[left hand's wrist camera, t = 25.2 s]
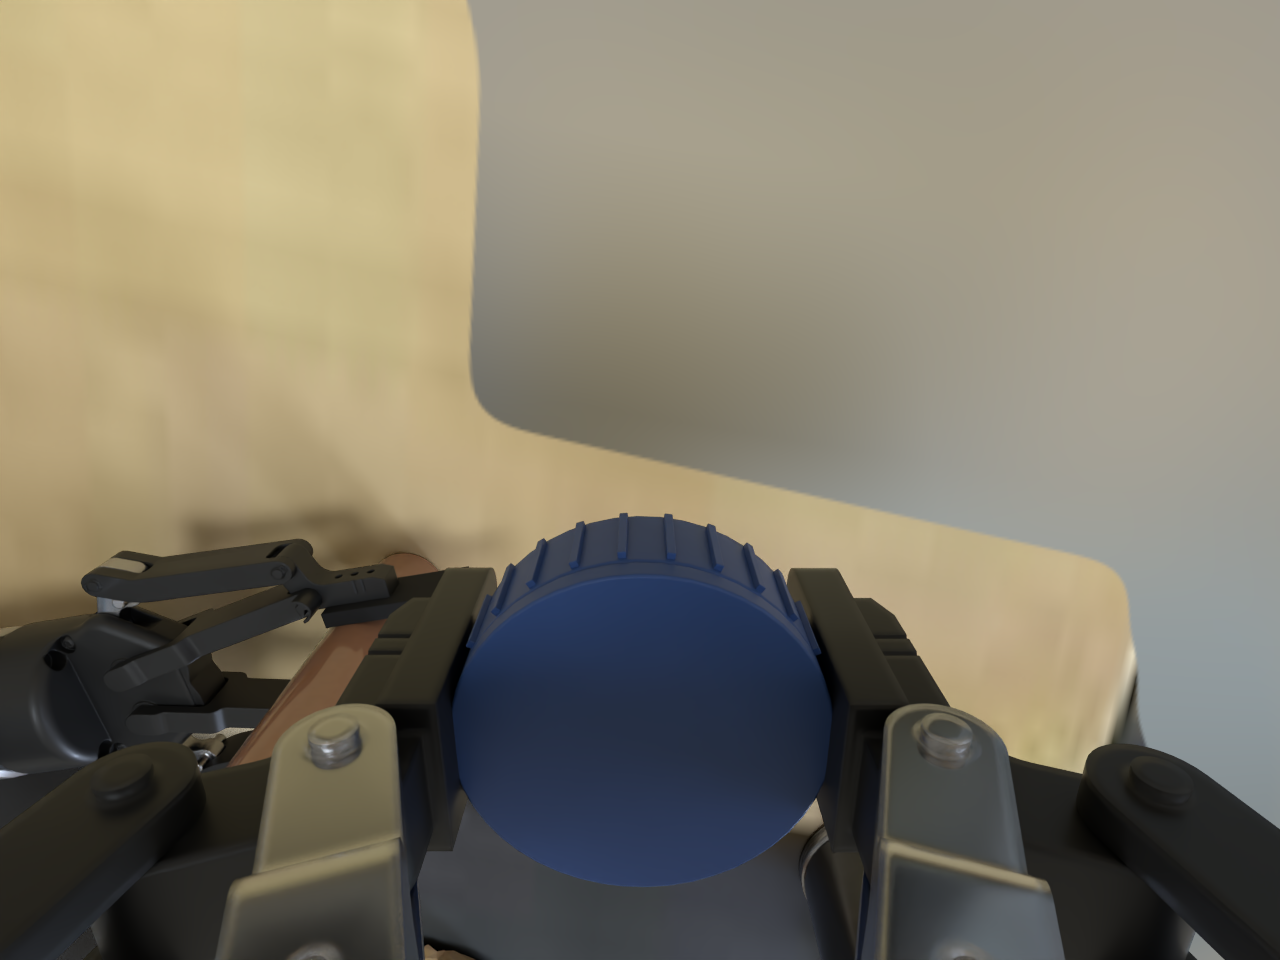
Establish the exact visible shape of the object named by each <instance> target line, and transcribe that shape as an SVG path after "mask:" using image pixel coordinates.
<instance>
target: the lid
mask: <svg viewBox="0 0 1280 960" xmlns="http://www.w3.org/2000/svg"><path fill="white" fill-rule="evenodd" d="M466 647H468V648H470V651H469V654H468V656H467V659H466V662H465V664H464V667H463V670H462V672H461V675H460V678H459V681H458V683H457V686H456V690H455V693H454V697H453V701H452V716H453V725H454V734H455V743H456V752H457V761H458V770H459V778H460V783H461V785H462V788H463V790H464V791H465V793H466V795H467V797H468V798H469V800H470V802H471V803H472V805H473V807H474V808H475V809H476V811H477V812H478V813H479V814H480V816H481V817H482V818H483V820H484V821H485V822H486V823H487V824H488V825H489V826H490V827H491V828H492V829H493V830H494V831H495V832H496V833H497V834H498V835H499V836H500V837H501V838H502V839H504V840H505V841H506V842H508V843H509V844H510V845H511V846H513V847H514V848H515V849H517V850H518V851H520V852H521V853H523V854H525V855H526V856H528V857H530V858H531V859H533V860H535V861H536V862H538V863H540V864H543V865H545V866H547V867H549V868H551V869H554V870H556V871H558V872H561V873H564V874H567V875H570V876H573V877H576V878H579V879H584V880H588V881H592V882H597V883H601V884H609V885H617V886H630V887H654V886H669V885H675V884H681V883H687V882H693V881H696V880H700V879H704V878H707V877H711V876H715V875H717V874H720V873H722V872H725V871H728V870H730V869H733V868H735V867H737V866H739V865H741V864H743V863H745V862H747V861H749V860H751V859H753V858H755V857H756V856H758V855H759V854H761V853H762V852H764V851H765V850H767V849H768V848H770V847H771V846H773V845H774V844H775V843H776V842H778V841H779V840H780V839H781V838H782V837H784V836H785V835H786V834H787V833H788V832H789V831H790V830H791V829H792V828H793V827H794V826H795V825H796V824H797V823H798V822H799V820H800V819H801V818H802V817H803V816H804V815H805V813H806V812H807V810H808V809H809V807H810V806H811V805H812V803H813V802H814V800H815V799H816V797H817V795H818V793H819V791H820V789H821V787H822V785H823V783H824V781H825V774H826V767H827V758H828V749H829V740H830V731H831V723H832V701H831V697H830V694H829V691H828V688H827V685H826V682H825V679H824V676H823V674H822V671H821V668H820V666H819V663H818V660H817V658H816V655H819V654H821V651H820V648H819V646H818V643H817V641H816V638H815V636H814V633H813V631H812V628H811V626H810V623H809V621H808V618H807V616H806V613H805V610H804V608H803V605H802V603H801V601H797V602H794V600H793V599H792V597H791V595H790V593H789V590H788V588H787V585H786V582H785V580H784V577H783V574H782V573H781V572H780V570H779V569H777V570H775V571H774V572H773V571H772V570H771V569H770V567H769V566H768V565H767V564H766V563H765V562H764V561H763V560H761V559H760V558H759V557H758V556H756V555H755V553H754V550H753V547H752V546H751V545H750V544H748V543H746V544H745V545H744V546H743V545H741V544H739V543H738V542H736V541H734V540H733V539H731V538H729V537H727V536H725V535H723V534H721V533H718V532H716V528H715V526H713V525H711V524H708V525H707V527H704V526H700V525H697V524H693V523H690V522H686V521H682V520H676V519H673V516H672V515H671V514H665V515H664V518H663V517H644V516H634V517H628V513H620V516H619V518H613V519H608V520H603V521H598V522H593V523H589V524H587V525H585V523H584V521H582V522H579V523H576V528H575V529H572V530H569V531H567V532H565V533H563V534H561V535H559V536H557V537H555V538H553V539H551V540H549V541H547V542H546V540H545V539H544V538H543V539H542V540H540V541H538V543H537V546H536V549H535V550H533V551H532V552H530V553H529V554H528V555H527V556H526V557H525V558H524V559H523V560H521V561H520V562H519V563H518V564H517V565H516V566H514V565H513V564H510V565H509V566H508V567H507V568H506V571H505V573H504V576H503V579H502V582H501V583H500V585H499V586H498V588H497V589H496V591H495V593H494V594H493V596H491V595H488V594H487V595H486V597H485V599H484V601H483V603H482V606H481V609H480V611H479V614H478V616H477V619H476V621H475V624H474V626H473V629H472V632H471V634H470V637H469V639H468V642H467V644H466Z"/></svg>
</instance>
